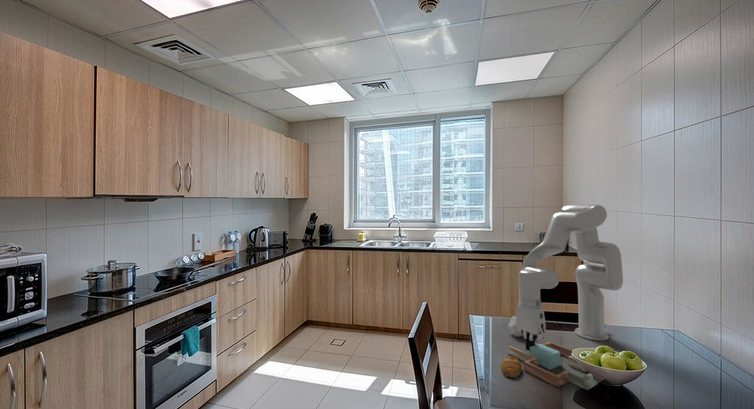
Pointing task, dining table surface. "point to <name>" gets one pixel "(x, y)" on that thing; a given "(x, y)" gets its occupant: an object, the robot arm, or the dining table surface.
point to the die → (514, 327)
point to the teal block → (546, 356)
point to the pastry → (511, 367)
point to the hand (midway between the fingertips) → (530, 349)
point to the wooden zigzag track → (556, 380)
